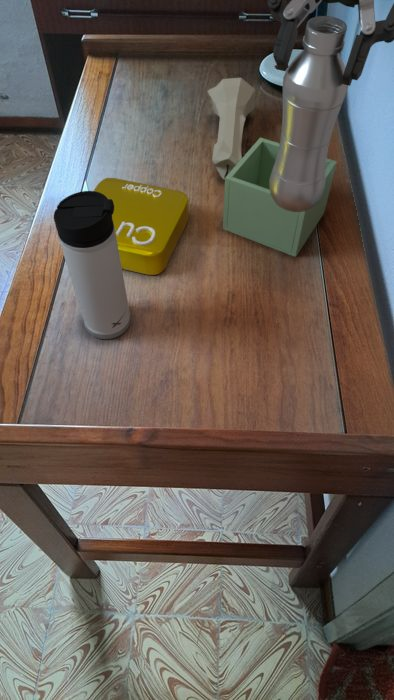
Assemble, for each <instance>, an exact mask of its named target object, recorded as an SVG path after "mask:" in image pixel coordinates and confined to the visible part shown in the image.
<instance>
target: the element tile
mask: <svg viewBox="0 0 394 700" xmlns="http://www.w3.org/2000/svg"><path fill="white" fill-rule="evenodd" d="M93 191H96V192H99V193H102V194H104V195H105V196H106V197H107V198H108V199H112V200H113V203H114V213H113V214H112V220H113V223H114V227H115V233H116V238H117V244H118V250H119V255H120V261H121V267H122V270H126V271H130V272H135V273H140V274H142V275H148V276H153V275H154V276H156V275H159V274H161V273H162V272H164V270H165V269H166V267H167V265H168V263H169V261H170V259H171V257H172V256H173V255H172V254H173V252H174V251H175V249H176V247H177V244H178V243H179V240H180V238H181V236H182V234H183V233H184V230H185V229H186V226H187V224H188V222H189V218H190V217H189V216H190V215H189V196H188V195H187V194H186V193H185V192H183V191H180V190H177V189H172V188H167V187H162V186H157V185H151V184H147V183H142V182H137V181H133V180H126V179H122V178H117V177H105V178H104V179H102V180H101V181H99V182H98V183H97V185H96V186H95V188H94V189H93Z"/></svg>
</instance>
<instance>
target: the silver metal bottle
mask: <svg viewBox="0 0 394 700" xmlns="http://www.w3.org/2000/svg"><path fill="white" fill-rule="evenodd" d="M347 28H348V25H347V23H346V22H345V21H344V20H342V19H340V18H338V17H335V16H330V15H317V16H313V17H311V18H309V19H308V20H307V22H306V25H305V31H304V36H303V38H302V42H301V45H302V47H303V49H302V50H301V51H300V52H299V53H298V54H297V55H296V56H295V57H294V58H293V60H292V61H291V62H290V63H289V64H288V66H287V69H286V71H285V73H284V75H283V79H282V120H281V131H280V139H279V140H280V141H279V143H280V145H279V149H278V153H277V158H276V162H275V164H274V167H273V169H272V173H271V176H270V181H269V185H270V194H271V197H272V198H273V200H274V201H275V203H276V204H277V205H278V206H279V207H281V208H283V209H285V210H287V211H291V212H303V211H307V210H309V209H311V208H312V207H314V206H315V205H316V204H318V202H319V201H320V199H321V197H322V194H323V192H324V189H325V168H326V161H327V159H328V153H329V146H330V142H331V138H332V135H333V132H334V128H335V125H336V121H337V119H338V117H339V114H340V111H341V109H342V106H343V103H344V100H345V98H346V95H347V92H348V89H349V86H348V85H344V84H343V81H342V78H343V74H344V70H345V68H346V65H345V63H344V61H343V58H342V56H341V54H340V53H342V51H343V50H344V48H345V42H346V41H345V38H346V34H347V31H348V29H347Z"/></svg>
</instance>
